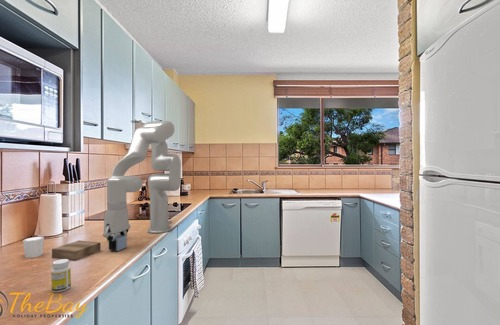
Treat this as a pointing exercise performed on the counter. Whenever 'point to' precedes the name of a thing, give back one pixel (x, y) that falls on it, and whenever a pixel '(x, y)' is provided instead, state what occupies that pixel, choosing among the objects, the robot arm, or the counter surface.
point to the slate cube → (120, 242)
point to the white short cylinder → (33, 247)
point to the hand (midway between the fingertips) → (117, 247)
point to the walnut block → (76, 250)
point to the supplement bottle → (61, 275)
